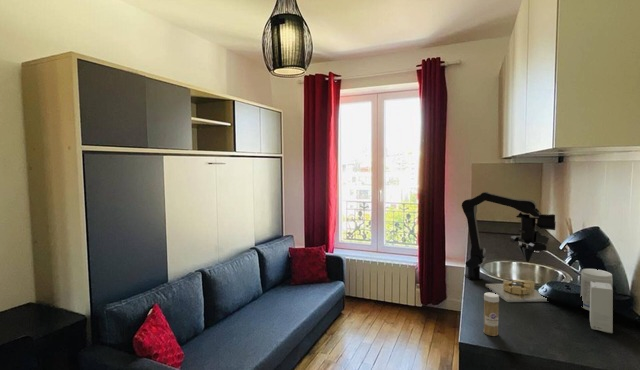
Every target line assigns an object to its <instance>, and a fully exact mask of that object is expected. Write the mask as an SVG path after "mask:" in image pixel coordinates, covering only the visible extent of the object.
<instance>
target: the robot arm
mask: <svg viewBox="0 0 640 370" xmlns="http://www.w3.org/2000/svg"><path fill="white" fill-rule="evenodd" d="M484 202H490V203H494V204H498V205H502V206H506V207H510V208H513V209H515V210H517V211H519V213H518V214H517V215H516V216H515V217H516V219H517V218H520V228H518V232H520V235H511V236H510V237H509V238H510V239H509V242H511V243H516V242H518V244H516V246H517V248H518V249H519V251H520V253H521V256H522V257H523V259H524V261H525V262H527V263H529V262H530V260H531V258H532V255H533V253H534V252H547V251H548V246H547V245H548V243H549V240H550V237H547V236H544V235H542V233H541V232H540V231H538V230H537V229H536V226H537V227H538V228H539V229H540V230H549V231H555V230H556V226H557V225H556V223H557V222H556V214H553V213H552V214H546V213H544V214H543V213H541V212H540V210H539V209H538V208H537V203H536V202H535V201H534V200H532V199H531V200H530V199H523V198H519V199H518V198H511V197H508V196H503V195H498V194H495V193H490V192H488V191H484V192H481V193H480V194H479V195H477V196H475V197H473V198H467V199H465V200H463V201H462V203H461V209H462V211H463V213H464V215H465V217H466V221H467V227H468V233H469V239H470V245H471V247H470V253H469V254H470V257H469V259H468V260H466V262H465V266H466V269H467V274H464V276H465V277H466V278H467V279H469V280H470V281H472V280H475V281H476V280H477V281H478V280H479V281H480V280H481V281H482V280H484V278H483V277H482V276H481V266H480V265H482V263H484V261H486V259H487V257H488V253H487V252H486V251H487V249H486V247H483V246H482V244H481V239H480V234H479V233H480V232H479V226H478V220H477V213H478V212H477V211H478V206H479V205H480V204H482V203H484ZM536 220H537V221H536Z"/></svg>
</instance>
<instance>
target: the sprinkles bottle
mask: <svg viewBox="0 0 640 370" xmlns="http://www.w3.org/2000/svg"><path fill="white" fill-rule="evenodd" d="M483 300H484V302H483V304H484V305H483V306H484V307H483V330H482V331H483V333H484V334H485V335H487V336H492V337H496V336H499V315H500V314H499V302H500V296H499V295H497V294H495V293H494V292H485V293H483Z"/></svg>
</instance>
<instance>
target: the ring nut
mask: <svg viewBox="0 0 640 370" xmlns="http://www.w3.org/2000/svg"><path fill="white" fill-rule="evenodd" d="M512 282H518V283H521V287H520V286H513V285H512ZM502 284H503V289H504V290H505V291H507V292H510V293H514V294H520V295H521V294H522V295H524V294H529V293H530V289H535V284H536V283H535V281H533V280H522V281H521V280H516V279H511V281H507V280H503V282H502Z"/></svg>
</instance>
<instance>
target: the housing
mask: <svg viewBox="0 0 640 370" xmlns="http://www.w3.org/2000/svg"><path fill="white" fill-rule="evenodd" d="M511 282H512V281H511ZM521 283H522V282H521ZM521 283H518V282H512V285H513V286H520V287H521ZM485 287H486V288H487V289H488V288H489V291H491V290H492V291H491V292H492V293H496V294H497V295H499V298H501V299H502V300H504V301H506V302H507V303H526V302H527V303H528V302H529V303H530V302H534V303H537V302H548V301H547V298H545V297H543V296H541V295H540V294H539V292H540V291H539V290H537V289H535V288H534V289H530V293H529V294H524V295H522V294H521V295H520V294H514V293H510V292H507V291H505V290H504V289H503V283H485Z"/></svg>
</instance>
